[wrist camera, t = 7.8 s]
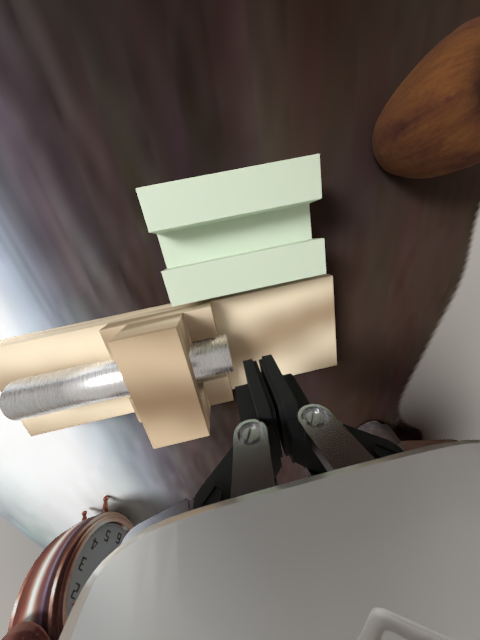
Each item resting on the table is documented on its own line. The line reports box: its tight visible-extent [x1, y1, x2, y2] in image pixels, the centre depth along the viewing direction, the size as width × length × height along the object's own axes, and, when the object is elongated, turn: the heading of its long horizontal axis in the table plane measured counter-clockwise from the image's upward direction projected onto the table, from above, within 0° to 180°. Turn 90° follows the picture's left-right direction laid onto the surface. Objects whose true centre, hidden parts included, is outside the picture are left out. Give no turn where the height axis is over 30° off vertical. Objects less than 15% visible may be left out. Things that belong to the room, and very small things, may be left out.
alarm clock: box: [2, 496, 134, 640], centre depth 20 cm, size 11×5×15 cm, turn 27°
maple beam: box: [0, 274, 337, 449], centre depth 18 cm, size 8×28×7 cm, turn 101°
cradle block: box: [136, 154, 326, 307], centre depth 16 cm, size 7×11×4 cm, turn 101°
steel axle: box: [0, 334, 234, 420], centre depth 17 cm, size 16×3×3 cm, turn 101°
